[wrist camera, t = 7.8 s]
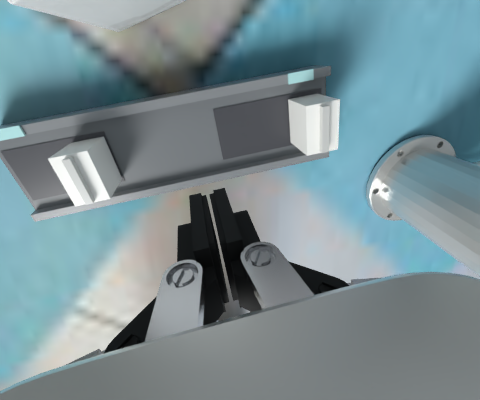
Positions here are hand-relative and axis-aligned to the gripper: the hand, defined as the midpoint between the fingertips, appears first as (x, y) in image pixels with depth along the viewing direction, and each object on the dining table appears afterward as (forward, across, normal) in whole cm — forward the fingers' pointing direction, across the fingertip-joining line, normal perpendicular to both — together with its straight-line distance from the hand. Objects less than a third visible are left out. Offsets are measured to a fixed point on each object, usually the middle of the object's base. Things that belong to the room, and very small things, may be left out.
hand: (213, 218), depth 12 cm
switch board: (+18, +2, +1) cm, 18 cm away
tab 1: (+15, +10, +1) cm, 18 cm away
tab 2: (+15, -11, 0) cm, 19 cm away
